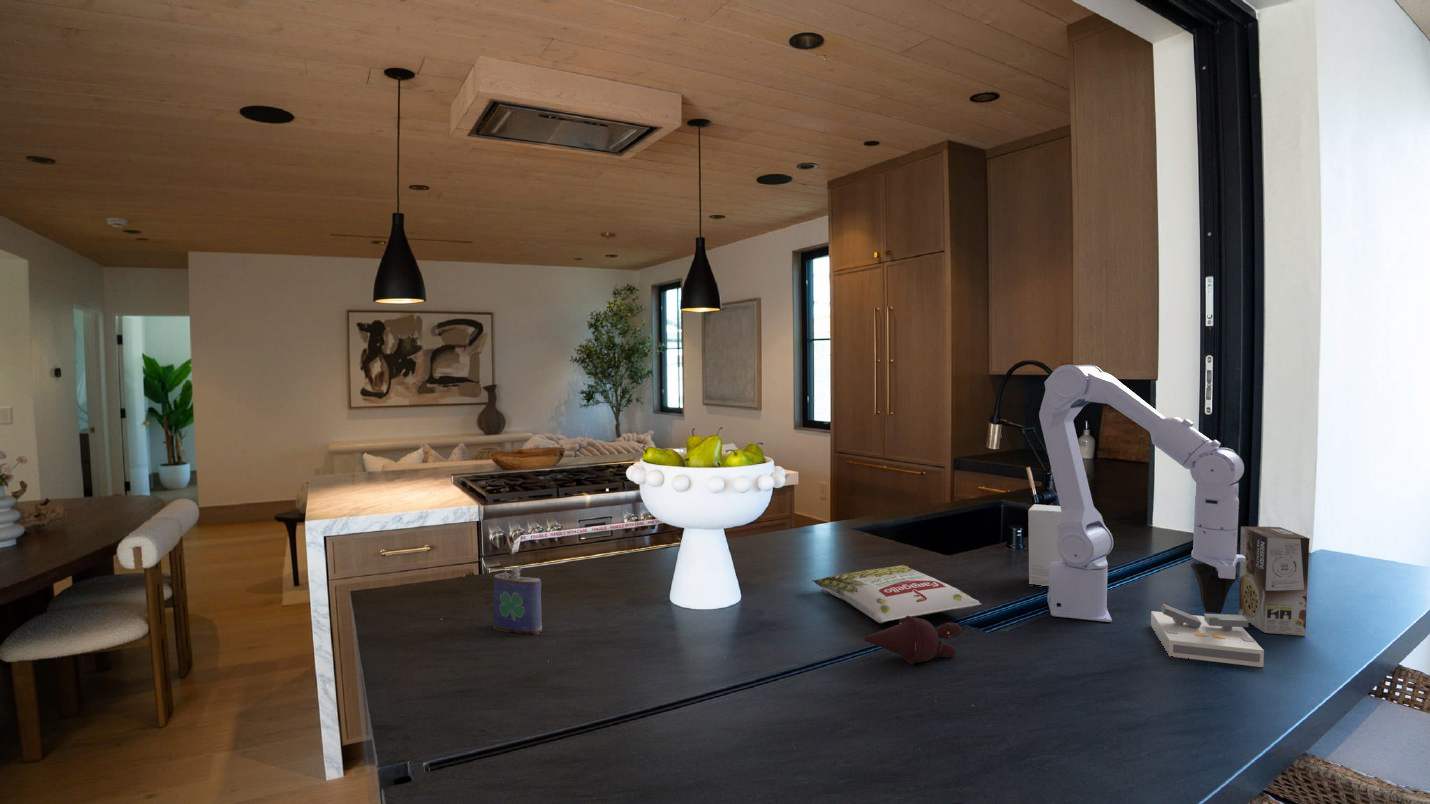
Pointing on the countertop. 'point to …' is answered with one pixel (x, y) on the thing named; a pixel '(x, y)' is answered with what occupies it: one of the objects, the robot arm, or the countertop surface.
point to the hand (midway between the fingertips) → (1212, 611)
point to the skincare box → (1042, 541)
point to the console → (1207, 642)
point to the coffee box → (1274, 579)
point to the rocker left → (1180, 616)
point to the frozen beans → (895, 593)
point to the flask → (517, 603)
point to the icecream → (916, 639)
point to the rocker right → (1226, 620)
